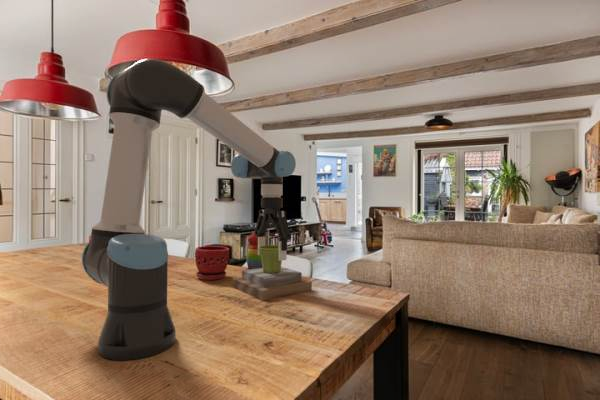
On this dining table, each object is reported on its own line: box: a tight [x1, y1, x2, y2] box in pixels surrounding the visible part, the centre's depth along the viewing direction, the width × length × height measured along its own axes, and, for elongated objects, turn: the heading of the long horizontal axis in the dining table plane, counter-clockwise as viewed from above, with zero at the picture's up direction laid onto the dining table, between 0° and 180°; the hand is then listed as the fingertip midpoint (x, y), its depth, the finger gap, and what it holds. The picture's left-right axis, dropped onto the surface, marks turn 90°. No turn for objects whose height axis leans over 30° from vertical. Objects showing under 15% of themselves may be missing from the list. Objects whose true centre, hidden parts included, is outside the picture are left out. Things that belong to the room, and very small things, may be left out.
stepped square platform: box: [232, 266, 313, 301], centre depth 122 cm, size 20×20×6 cm
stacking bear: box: [245, 231, 266, 270], centre depth 146 cm, size 11×10×18 cm
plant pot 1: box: [194, 245, 230, 281], centre depth 138 cm, size 13×13×12 cm
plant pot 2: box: [258, 244, 283, 273], centre depth 122 cm, size 9×9×9 cm
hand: (271, 257), depth 122 cm, fingers open, 13 cm apart
